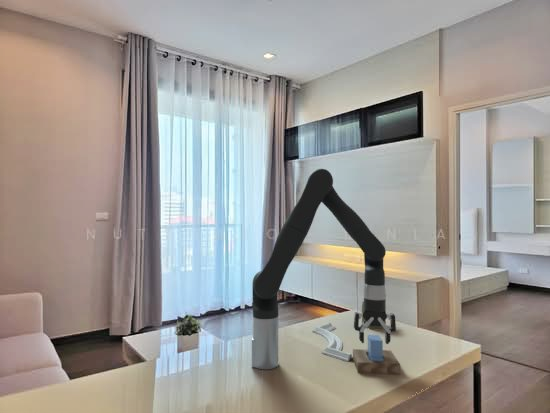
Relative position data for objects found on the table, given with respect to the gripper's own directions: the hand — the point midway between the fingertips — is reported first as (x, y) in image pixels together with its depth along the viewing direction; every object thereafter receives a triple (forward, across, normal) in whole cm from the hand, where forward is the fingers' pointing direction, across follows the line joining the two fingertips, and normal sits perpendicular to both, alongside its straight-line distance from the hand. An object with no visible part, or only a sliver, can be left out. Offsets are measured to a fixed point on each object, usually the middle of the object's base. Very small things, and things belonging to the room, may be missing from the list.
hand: (374, 342), depth 123 cm
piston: (+8, -9, -48) cm, 50 cm away
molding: (+9, +12, -24) cm, 28 cm away
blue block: (+8, 0, 0) cm, 8 cm away
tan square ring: (+8, 0, 0) cm, 8 cm away
